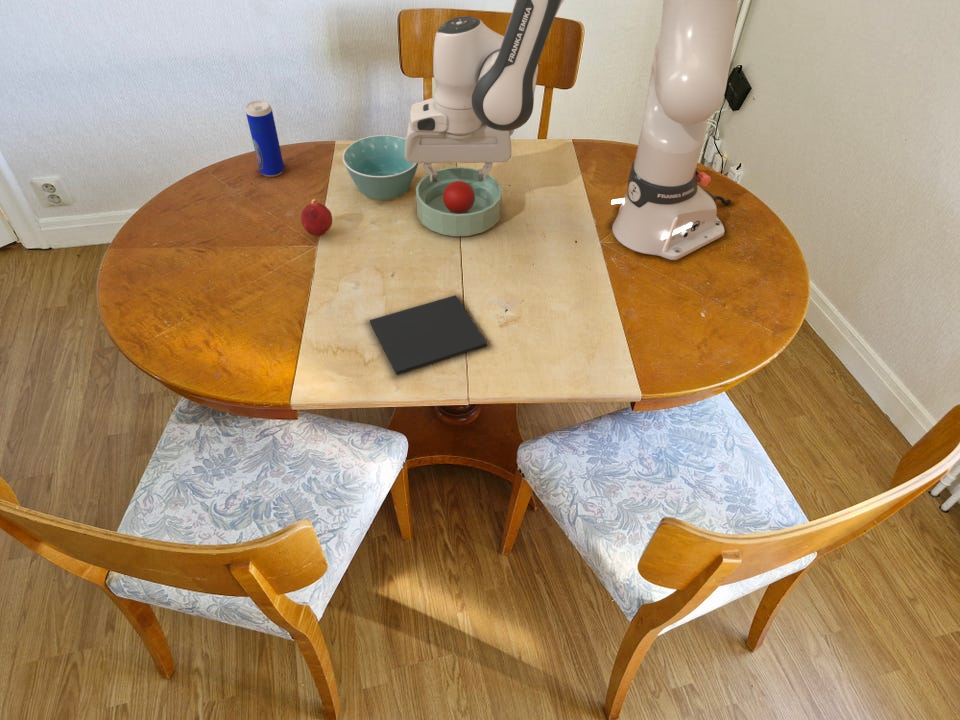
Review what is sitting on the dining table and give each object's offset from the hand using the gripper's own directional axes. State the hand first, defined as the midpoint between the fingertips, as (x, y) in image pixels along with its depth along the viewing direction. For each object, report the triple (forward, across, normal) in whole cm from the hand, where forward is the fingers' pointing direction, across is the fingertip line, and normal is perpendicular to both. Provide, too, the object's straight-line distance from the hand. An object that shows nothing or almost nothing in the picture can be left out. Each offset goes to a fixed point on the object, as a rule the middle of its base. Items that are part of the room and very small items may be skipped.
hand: (457, 180), depth 135 cm
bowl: (+8, +15, -9) cm, 19 cm away
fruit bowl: (+8, 0, 0) cm, 8 cm away
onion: (+8, +27, +6) cm, 29 cm away
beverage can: (+8, +39, -17) cm, 44 cm away
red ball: (+7, 0, 0) cm, 7 cm away
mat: (+8, +7, +35) cm, 36 cm away
